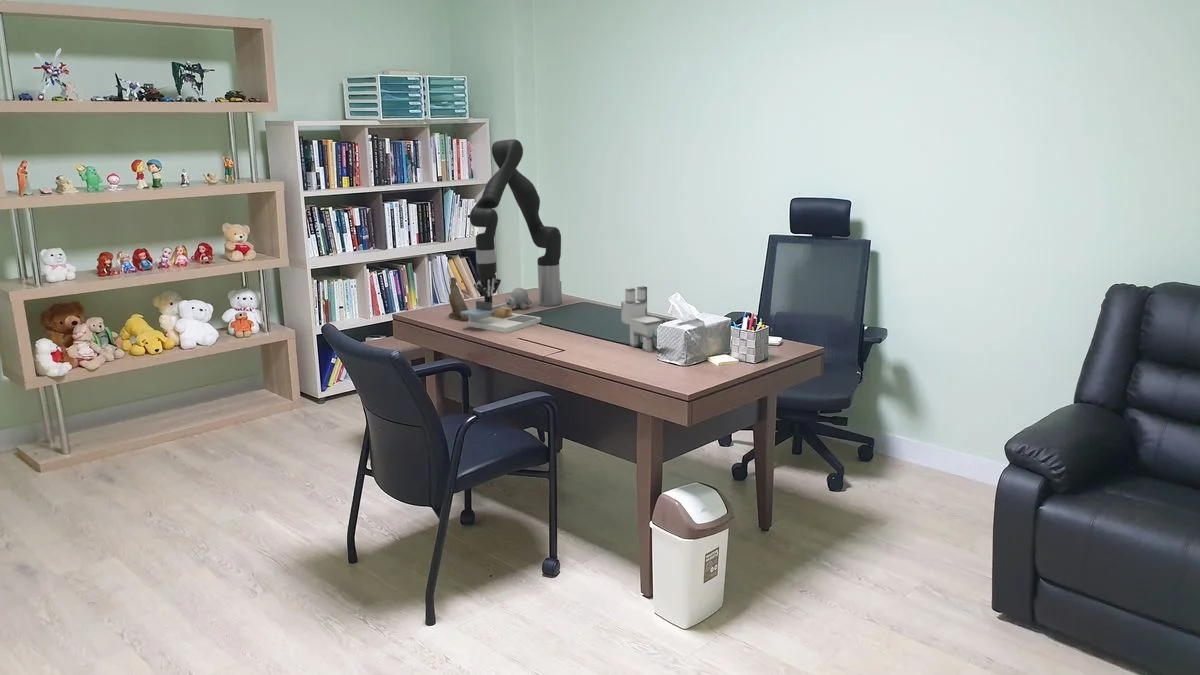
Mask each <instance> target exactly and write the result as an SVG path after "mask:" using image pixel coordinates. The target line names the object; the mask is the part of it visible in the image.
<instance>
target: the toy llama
mask: <svg viewBox="0 0 1200 675" xmlns="http://www.w3.org/2000/svg"><path fill="white" fill-rule="evenodd" d="M624 290H625V291H624V292H625V294H624V295H625V296H624V299H625V300H622V301H620V302H621V303H620V304H621V307H620V308H621V309H620V312H621V313H620V314H621V318H620V319H621V323H622V324H625V325H628V326H629V347H632V348H638V347H637V346H639V347H641V344H642V343H643V344H642V351H643V352H646V353H649V352H653V351H654V349H656V346H657V328H658V326H659V325H660V324H663V323H665V324H666V322H665V319H661V318H658V317H654V316H652V315H648V287H647V286H644V285H641V286H637V287H636V288H633V287H626V288H625V289H624ZM640 337H641V338H640ZM656 350H657V349H656Z"/></svg>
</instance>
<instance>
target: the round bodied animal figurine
mask: <svg viewBox="0 0 1200 675" xmlns="http://www.w3.org/2000/svg"><path fill="white" fill-rule="evenodd" d="M504 299H505V303H506V308H512V309H513V308H514V307H515V308H517V309H521V310H524V309H526V308H527V306H530V305H532V304H533V302H532V300H531V299H530V298H529V294H528V292H527V290H526V289H525V288H522V287H517V288H515V289H514V288H513V290H512V291H511V293H510V297H505V296H504Z"/></svg>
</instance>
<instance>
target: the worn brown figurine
mask: <svg viewBox="0 0 1200 675" xmlns="http://www.w3.org/2000/svg"><path fill="white" fill-rule="evenodd" d="M449 281H450V286H449V290H450V293H449V295H448V301H449V305H450V307H451V308H450V309H451V310H452V311H451V312H450V313H449V314H448V318H450V319H452V320H453V319H454V320H456V321H459V322H468V321H469V317H468V315H463V314H461V313H460V312H462V311H466V310H469V309H468V307H467V305H466V301H465V299H464V297H463V295H462V294H461V291H460V288H459V286H458V285H457V282H458V280H457V278H456V277H451V278H450V279H449Z"/></svg>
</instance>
